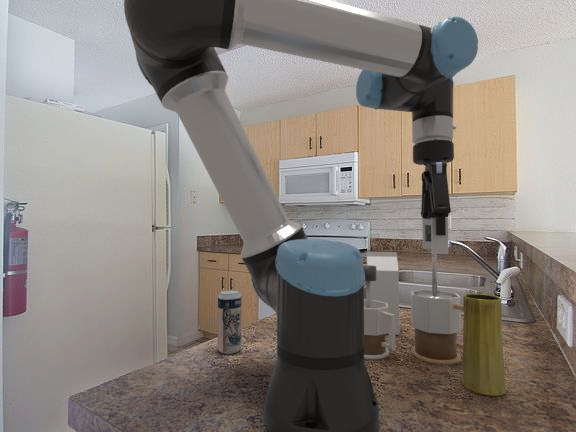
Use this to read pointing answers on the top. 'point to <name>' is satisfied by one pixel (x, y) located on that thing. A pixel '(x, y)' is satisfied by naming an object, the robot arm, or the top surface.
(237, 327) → the beer can
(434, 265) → the plunger
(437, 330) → the press copper
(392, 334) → the press cream
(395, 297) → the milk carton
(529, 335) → the top surface
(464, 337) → the vase
